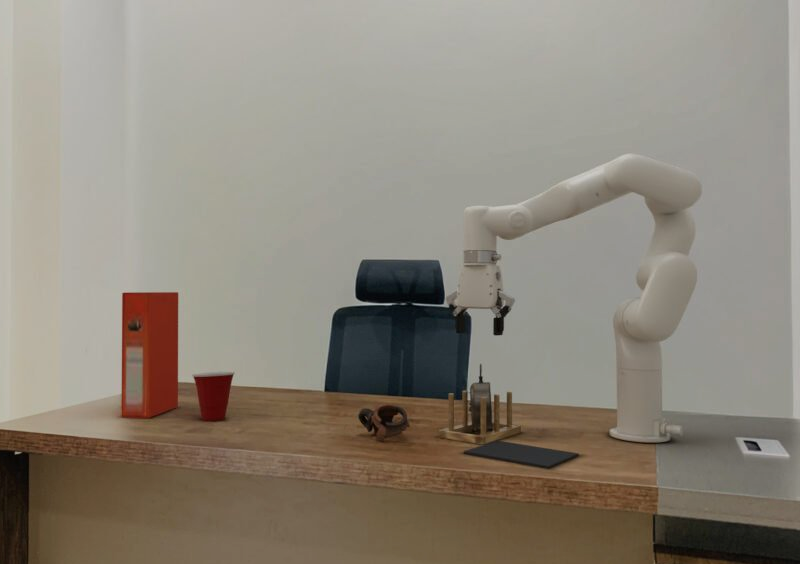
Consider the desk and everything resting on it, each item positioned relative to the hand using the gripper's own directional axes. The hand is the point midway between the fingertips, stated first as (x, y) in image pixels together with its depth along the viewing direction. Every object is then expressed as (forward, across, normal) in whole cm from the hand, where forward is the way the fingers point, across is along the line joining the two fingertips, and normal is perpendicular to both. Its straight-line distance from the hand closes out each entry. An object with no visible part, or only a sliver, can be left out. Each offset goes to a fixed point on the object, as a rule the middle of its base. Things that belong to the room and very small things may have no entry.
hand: (479, 334), depth 163 cm
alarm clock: (+23, 0, 0) cm, 23 cm away
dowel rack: (+23, 0, 0) cm, 23 cm away
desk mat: (+23, -16, +12) cm, 31 cm away
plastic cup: (+24, +60, +29) cm, 70 cm away
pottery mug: (+23, +15, +17) cm, 32 cm away
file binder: (+24, +80, +34) cm, 90 cm away
